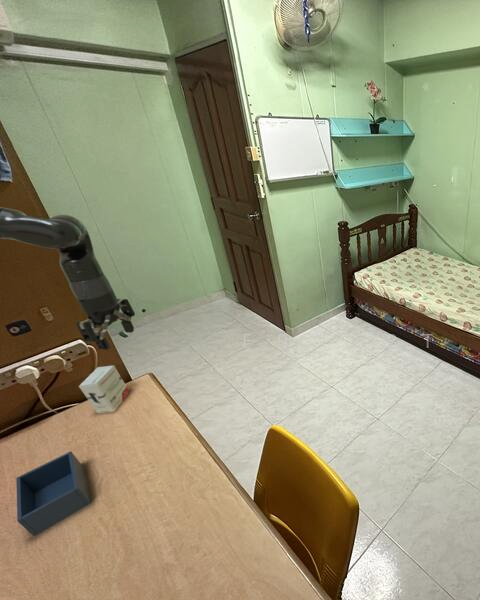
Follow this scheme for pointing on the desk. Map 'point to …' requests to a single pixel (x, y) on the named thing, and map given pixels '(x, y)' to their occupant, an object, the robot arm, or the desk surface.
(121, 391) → the ink box
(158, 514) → the desk surface
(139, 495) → the desk surface
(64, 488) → the bin
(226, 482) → the desk surface
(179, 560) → the desk surface
